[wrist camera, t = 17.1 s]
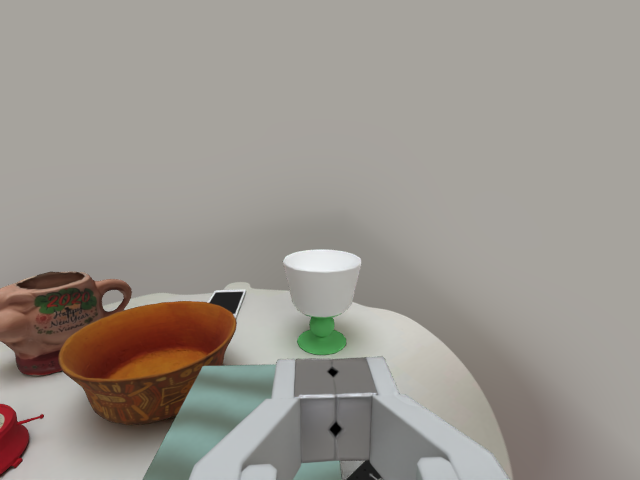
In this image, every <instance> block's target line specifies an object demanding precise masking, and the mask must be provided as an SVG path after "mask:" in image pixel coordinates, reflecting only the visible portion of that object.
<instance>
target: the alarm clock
mask: <svg viewBox="0 0 640 480" xmlns="http://www.w3.org/2000/svg"><path fill="white" fill-rule="evenodd" d="M43 417H44V415H43V414H41V415H40V416H39V417H35V418H31V419H27V420H24V421H20V422H18V421H17V416H16V412H15V411H14V410H13V409H12V408H11V407H10V406H8V405H4V404H0V474H2V473H3V472H4V471H6V470H7V469H8V468H9V467H10V466H14V468H16V467H17V466H18V465H19V464H20V463H21V462H22V458H19V457H20V455H21V454H22V453H23V451H24V450H25V448H26V446H27V444H28V441H29V434H28V430H27V429H26V427H24V426H23V425H21V424H23V423H27V422H30V421H32V420H35V419H38V418H40V419H42V418H43Z"/></svg>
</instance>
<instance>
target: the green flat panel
mask: <svg viewBox="0 0 640 480" xmlns="http://www.w3.org/2000/svg"><path fill="white" fill-rule="evenodd" d="M275 368H276V365H230V366H203V367H202V369H201V371H200V373H199V374H198V376H197V378H196V380H195V382H194V384H193V386H192V388H191V390H190V391H189V393H188V395H187V397H186V399H185V401H184V403H183V405H182V406H181V408H180V410H179V412H178V414H177V416H176V418H175V420H174V421H173V423H172V425H171V427H170V429H169V431H168V433H167V435H166V437H165V438H164V440H163V442H162V444H161V446H160V448H159V450H158V452H157V453H156V455H155V457H154V459H153V461H152V463H151V465H150V467H149V468H148V470H147V472H146V474H145V476H144V478H143V480H189V478H190V475H191V473H192V470H193V467H194V465H195V464H196V463H197V462H198V461H199V460H200V459H202V458H203V457H204V456H205V455H206V454H207V453H208V452H209V451H210V450H211V449H212V448H213V447H214V446H216V445H217V444H218V443H219V442H220V441H221V440H222V439H223V438H224V437H225V436H226V435H227V434H228V433H230V432H231V431H232V430H233V429H234V428H235V427H236V426H237V425H238V424H239V423H240V422H241V421H242V420H244V419H245V418H246V417H247V416H248V415H249V414H250V413H251V412H252V411H253V410H254V409H255V408H256V407H258V406H259V405H260V404H261V403H262V402H263V401H264V400H265V399H271V396H272V389H273V382H274V375H275ZM293 480H342V476H341V467H340V461H326V462H312V463H301V467H300V468H299V470H298V472H297V474H296V475H295V477H294V479H293Z"/></svg>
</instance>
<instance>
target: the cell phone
mask: <svg viewBox="0 0 640 480" xmlns="http://www.w3.org/2000/svg"><path fill="white" fill-rule="evenodd" d="M245 293H246V290H217V291H215V292H214V293H213V295H212V296H211V298H210V299H209V301H208V303H211V304H215V305H219V306H221V307H224V308H225V309H227V310H229V311H230V312H231V313H232V314H233V315H234V316H235V318H236V317H237V314H238V312H239V309H240V306H241V304H242V301H243V298H244V296H245Z"/></svg>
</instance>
